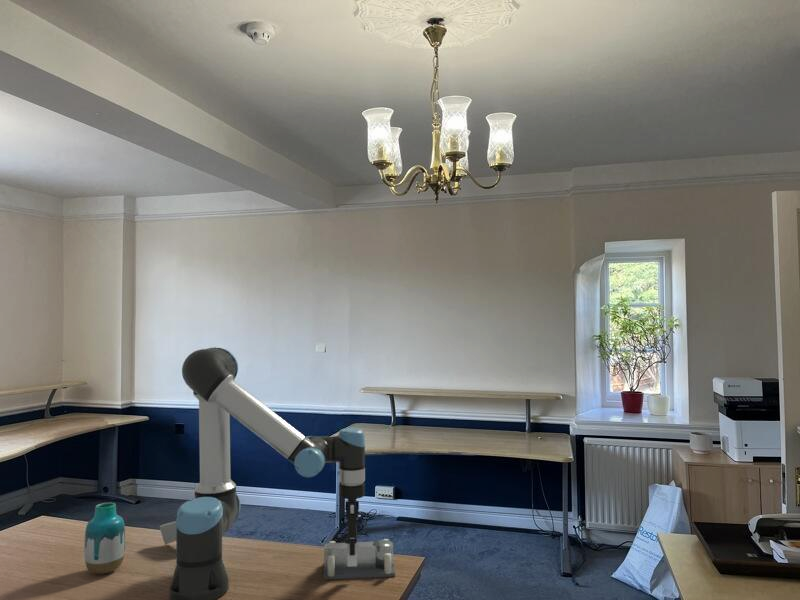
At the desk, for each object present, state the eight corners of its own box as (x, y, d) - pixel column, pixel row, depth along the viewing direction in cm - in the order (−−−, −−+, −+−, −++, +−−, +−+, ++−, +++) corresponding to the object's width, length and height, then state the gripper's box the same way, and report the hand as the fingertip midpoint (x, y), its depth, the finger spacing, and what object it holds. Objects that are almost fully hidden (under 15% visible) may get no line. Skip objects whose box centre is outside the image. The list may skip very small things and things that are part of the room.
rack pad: (323, 580, 162) (323, 558, 162) (325, 561, 175) (325, 541, 175) (395, 577, 164) (395, 555, 164) (392, 558, 177) (391, 538, 177)
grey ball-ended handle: (324, 571, 166) (323, 550, 166) (324, 562, 172) (324, 542, 172) (393, 568, 167) (393, 547, 168) (392, 560, 173) (392, 539, 173)
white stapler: (167, 556, 186) (204, 543, 182) (158, 526, 188) (194, 512, 184) (175, 552, 190) (211, 538, 186) (166, 522, 192) (202, 508, 188)
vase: (132, 566, 173) (133, 500, 174) (106, 581, 163) (106, 512, 164) (103, 562, 176) (104, 498, 177) (75, 577, 166) (76, 509, 166)
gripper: (340, 472, 182) (340, 540, 181) (338, 495, 158) (338, 575, 157) (363, 471, 183) (364, 539, 182) (365, 494, 158) (366, 573, 157)
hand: (352, 556), depth 169 cm, fingers open, 13 cm apart
